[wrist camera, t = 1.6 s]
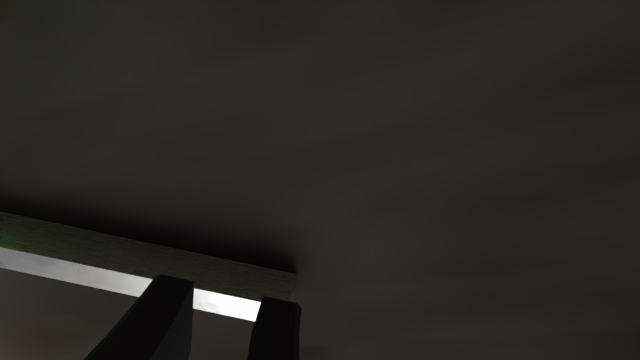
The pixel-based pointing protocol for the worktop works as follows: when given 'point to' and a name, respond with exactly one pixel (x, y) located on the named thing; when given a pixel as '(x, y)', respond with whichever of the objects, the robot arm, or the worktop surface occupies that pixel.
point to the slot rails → (136, 265)
